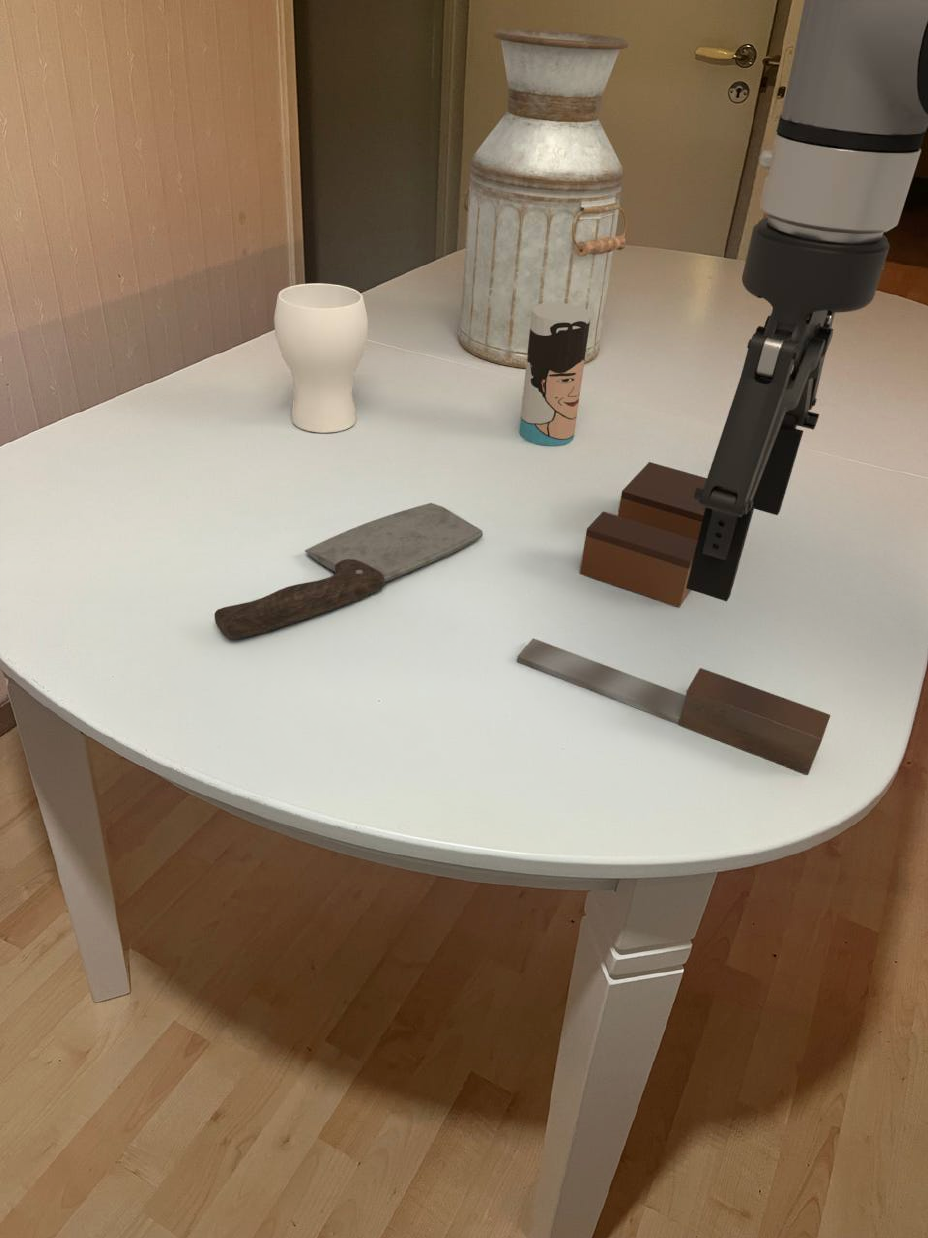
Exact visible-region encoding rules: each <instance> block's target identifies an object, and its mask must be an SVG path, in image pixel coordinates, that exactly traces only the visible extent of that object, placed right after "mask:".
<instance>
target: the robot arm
mask: <svg viewBox="0 0 928 1238" xmlns="http://www.w3.org/2000/svg"><path fill="white" fill-rule="evenodd" d="M801 12H802V13H801V18H800V23H799V28H798V32H797V38H796V44H795V48H794V53H793V59H792V63H791V68H790V72H789V78H788V83H787V86H786V91H785V96H784V101H783V105H782V110H781V114H779V119H778V124H777V128H776V135H775V138H774V140H773V145H772V149H764V150H763V151H762V153H761V154H760V155H759V157H758V164H759V166H760V167H761V168H762V169H764V170H768V174H767V176H766V177H765V179H764V183H763V188H762V191H761V192H762V193H761V196H760V201H759V205H758V206H759V208H760V210H761V211H762V213H763V214H765V215H766V216H767V217H764V218H761V219H760V220H759V221H758V222H757V223H756V224H754V225H753V227H752V232H751V236H750V240H749V245H748V249H747V253H746V258H745V263H744V267H743V271H742V275H741V282H742V285H743V287H744V289H745V290H746V291H747V292H748V293H750V294H751V295H752V296H754V297H756V298H758V299H764V300H765V301H767V302H768V303H769V304H770V306H771V307H772V310H771V314H770V315H768V316H767V317H766V319H765V320H766V321H765V323H764V326H762V325H758V326H757V328H756V330H755V332H754V333H753V334H752V336H751V338H749V340H748V342H747V347H746V348H747V352H746V356H745V359H744V363H743V367H742V371H741V374H740V377H739V381H738V384H737V387H736V390H735V393H734V395H733V399H732V401H731V405H730V407H729V411H728V413H727V417H726V419H725V420H726V421H725V423H724V426H723V429H722V432H721V435H720V438H719V441H718V443H717V447H716V451H715V453H714V455H713V459H712V462H711V465H710V469H709V472H708V474H707V477H706V478H707V480H706V483H705V486H704V489H701V488H696V491H695V494H694V500H697V501H699V503H700V506H703V507H706V508H705V512H704V516H703V520H702V524H701V528H700V532H699V537H698V541H697V545H696V549H695V553H694V557H693V562H692V566H691V570H690V574H689V578H688V582H687V586H686V588H687V589H690V590H691V591H692V592H696V593H699V594H701V595H705V596H708V597H711V598H715V599H717V600H720V601H723V602H728V600H729V598H730V597H731V595H732V591H733V588H734V583H735V580H736V576H737V572H738V569H739V565H740V561H741V558H742V554H743V551H744V548H745V547H744V546H745V543H746V539H747V536H748V532H749V529H750V525H751V522H752V517H753V514H754V512H755V510H757V511H760V512H764V513H768V514H771V515H775V516H778V515H779V514H780V512H781V509H782V506H783V502H784V498H785V495H786V492H787V489H788V485H789V482H790V479H791V475H792V472H793V468H794V465H795V461H796V458H797V454H798V451H799V448H800V445H801V441H802V438H803V434H804V430H803V429H799V428H797V427H801V428H805V429H810V430H813V431H814V430H815V428H816V426H817V423H818V420H819V417H820V413H816V412H814V411H813V412H812V409H813V407H815V406H816V403H817V393H818V390H819V385H820V380H821V376H822V371H823V366H824V362H825V358H826V353H827V350H828V349H829V347H830V344H831V341H832V339H833V333H834V328H832V327H833V322H834V319H835V315H836V313H837V314H838V313H839V314H840V313H848V312H849V313H850V312H854V311H859V310H861V309H864V308H866V307H867V306H868V305H870V304H871V303H872V301H873V300H874V298H875V294H876V292H877V290H878V289H877V288H878V285H879V283H880V279H881V276H882V272H883V269H884V267H885V263H886V260H887V257H888V254H889V251H890V247H891V246H890V242H889V241H888V237H886V236H885V234H884V233H887V232H889V231H891V230H892V229H894V228H895V227H897V226H898V224H899V222H900V219H901V216H902V212H903V209H904V206H905V202H906V199H907V196H908V193H909V190H910V187H911V184H912V182H913V178H914V174H915V171H916V168H917V165H918V162H919V160H920V156H921V153H922V149H921V148H922V144H923V142H924V138H925V135H926V132H927V129H928V0H804V2H803V7H802V11H801Z"/></svg>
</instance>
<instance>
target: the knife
mask: <svg viewBox="0 0 928 1238" xmlns="http://www.w3.org/2000/svg"><path fill="white" fill-rule="evenodd" d="M516 662H517V663H519V664H522V665H524V666H527V667H530V668H532V669H535V670H538V671H540V672H542V673H545V674H547V675H550V676H553V677H555V678H558V679H561V680H563V681H566V682H568V683H571V684H573V685H576V686H579V687H581V688H584V689H585V690H589V691H592V692H594V693H596V694H599V695H602V696H605V697H607V698H609V699H612V700H615V701H618V702H620V703H622V704H625V705H627V706H631V707H632V708H635V709H637V710H641V711H643V712H646V713H649V714H651V715H653V716H656V717H659V718H661V719H663V720H664V719H665V720H666V721H669V722H672V723H674V724H677V725H678V726H680V727H683V728H685V729H688V730H690V731H693V732H696V733H699V734H701V735H703V736H706V737H709V738H711V739H714V740H716V741H719V742H721V743H724V744H727V745H730V746H731V747H734V748H737V749H739V750H742V751H744V752H747V753H750V754H752V755H754V756H757V757H759V758H763V759H765V760H768V761H770V762H773V763H776V764H778V765H781V766H783V767H786V768H788V769H791V770H794V771H796V772H798V773H802V774H803V775H806V776H808V775H810V771H811V769H812V766H813V764H814V761H815V759H816V756H817V754H818V751H819V749H820V746H821V744H822V741H823V739H824V735H825V733H826V730H827V727H828V724H829V721H830V718H831V714H829V713H827V712H824V711H821V710H818V709H816V708H813V707H810V706H807V705H805V704H802V703H799V702H796V701H794V700H791V699H788V698H786V697H782V696H779V695H778V694H777V695H776V694H775V693H771V692H769V691H766V690H763V689H761V688H757V687H754V686H752V685H749V684H746V683H744V682H741V681H738V680H735V679H732V678H729V677H728V676H724V675H721V674H719V673H716V672H713V671H710V670H707V669H705V668H702V667H699V668H698V670H697V672H696V674H695V675H694V677H693V679H692V681H691V682H690V684H689V686H688V688H687V690H686V693H685V694H683V693H680V692H678V691H675V690H673V689H670V688H667V687H665V686H662V685H660V684H657V683H654V682H651V681H649V680H646V679H644V678H640V677H638V676H635V675H633V674H630V673H627V672H624V671H622V670H619V669H616V668H613V667H611V666H608V665H606V664H604V663H601V662H597V661H595V660H593V659H589V658H587V657H584V656H582V655H579V654H576V653H575V652H572V651H568V650H567V649H566V650H565V649H563V648H560V647H558V646H555V645H552V644H550V643H547V642H545V641H542V640H539V639H536V638H532V639H531V640H530V641H529V642H528V643H527V644H526V646H524V648H523V649H522V650H521V651H520V652H519V654H518V655H517V657H516Z"/></svg>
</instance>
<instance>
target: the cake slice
mask: <svg viewBox="0 0 928 1238" xmlns="http://www.w3.org/2000/svg"><path fill="white" fill-rule="evenodd" d="M583 543H584V544H583V550H582V555H581V563H580V567H579V575H582V576H585V577H589V578H591V579H593V580H596V581H600V582H603V583H606V584H608V585H612V586H616V587H618V588H621V589H623V590H627V591H630V592H632V593H634V594H635V593H636V594H639V595H641V596H644V597H647V598H651V599H653V600H656V601H659V602H662V603H665V604H668V605H670V606H674V607H677V608H680V607H682V604H683V603H684V601H685V600H686V598H687V597H688V595H689V594H690V592H691V591H692V590H690V589H687V588H686V586H687V582H688V578H689V574H690V570H691V566H692V562H693V557H694V553H695V549H696V545H697V540H694V539H691V538H687V537H684V536H681V535H678V534H674V533H671V532H668V531H665V530H662V529H658V528H655V527H652V526H649V525H645V524H642V523H639V522H636V521H632V520H629V519H626V518H623V517H620V516H618V515H616V514H613V513H609V512H606V511H602V512H601V513H600V514H599V515H598V516H597V517H596V518H595V519H594V520H593V521H592V522H591V523H590V524H589V526H588V527H586V532H585V536H584V542H583Z"/></svg>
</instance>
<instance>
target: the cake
mask: <svg viewBox="0 0 928 1238" xmlns="http://www.w3.org/2000/svg"><path fill="white" fill-rule="evenodd" d="M706 480H707V477H705V476H701V475H697V474H693V473H690V472H687V471H683V470H679V469H676V468H672V467H669V466H666V465H662V464H658V463H655V462H651V461H649V462H647V463H646V465H645V466H644V467H642V469H641V470H640V471H639V472H638V473H637V474H636V475H635V476H634V477H633V478H632V480H631V481H630V482H629V483H628V484H627V485H626V486H625V487H624V488H623V489H622V490H621V494H620V500H619V505H618V510H617V516H620V517H623V518H626V519H629V520H632V521H636V522H639V523H642V524H645V525H649V526H652V527H655V528H658V529H662V530H665V531H668V532H671V533H674V534H678V535H681V536H684V537H687V538H691V539H694V540H697V541H698V537H699V532H700V528H701V524H702V520H703V516H704V512H705V508H706V507H703V506H700V503H699V501H697V500H694V494H695V491H696V488H701V489H704V486H705V483H706Z"/></svg>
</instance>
